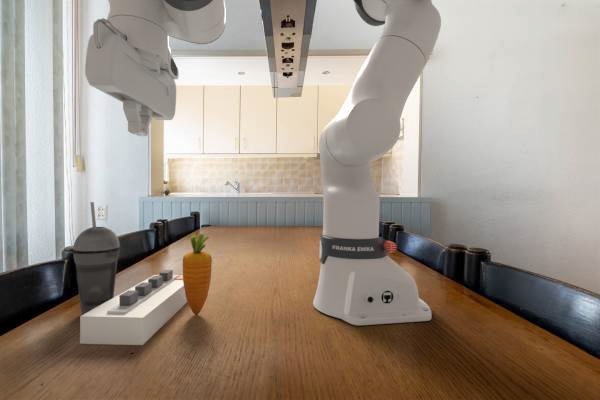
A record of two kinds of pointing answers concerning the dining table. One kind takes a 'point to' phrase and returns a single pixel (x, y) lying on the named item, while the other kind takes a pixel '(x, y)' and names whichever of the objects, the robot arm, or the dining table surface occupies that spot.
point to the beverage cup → (96, 264)
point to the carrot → (197, 274)
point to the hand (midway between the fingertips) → (138, 134)
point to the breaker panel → (135, 312)
